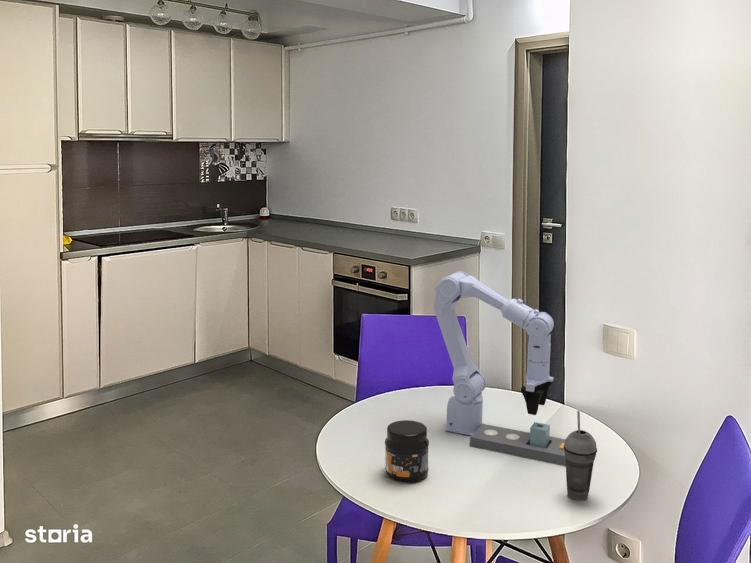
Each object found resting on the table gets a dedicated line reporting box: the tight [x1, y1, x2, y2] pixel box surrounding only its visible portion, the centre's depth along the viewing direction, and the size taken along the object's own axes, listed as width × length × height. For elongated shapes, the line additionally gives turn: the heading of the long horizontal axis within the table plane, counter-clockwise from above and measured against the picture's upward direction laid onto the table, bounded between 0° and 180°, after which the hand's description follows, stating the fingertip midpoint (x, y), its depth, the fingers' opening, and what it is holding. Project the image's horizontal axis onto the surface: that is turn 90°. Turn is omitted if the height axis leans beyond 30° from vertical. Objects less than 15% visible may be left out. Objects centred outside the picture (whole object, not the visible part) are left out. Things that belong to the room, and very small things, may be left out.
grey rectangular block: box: [529, 421, 551, 448], centre depth 184 cm, size 4×4×7 cm
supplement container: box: [384, 419, 430, 484], centre depth 172 cm, size 10×10×12 cm
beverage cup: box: [564, 410, 598, 502], centre depth 160 cm, size 7×7×20 cm
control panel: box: [469, 423, 566, 467], centre depth 186 cm, size 26×10×3 cm, turn 62°
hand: (536, 409), depth 188 cm, fingers open, 7 cm apart
